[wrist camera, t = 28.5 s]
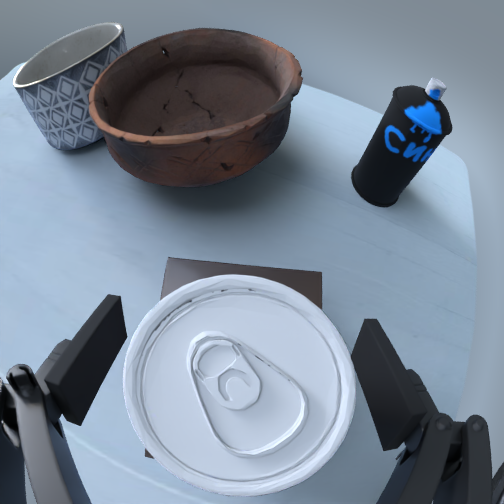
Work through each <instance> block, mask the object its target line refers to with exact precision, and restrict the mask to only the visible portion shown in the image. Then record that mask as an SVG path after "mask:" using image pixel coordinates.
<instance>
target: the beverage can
mask: <svg viewBox="0 0 504 504" xmlns="http://www.w3.org/2000/svg"><path fill="white" fill-rule="evenodd" d="M123 392H124V398H125V403H126V408H127V412H128V415H129V418H130V420H131V423H132V426H133V428H134V430H135V432H136V433H137V435H138V437H139V438H140V440H141V442H142V443H143V445H144V446H145V448H146V449H147V451H148V452H149V453H150V454H151V455H152V456H153V457H154V458H155V459H156V460H157V462H158V463H159V464H161V465H162V466H163V467H164V468H165V469H166V470H168V471H169V472H170V473H172V474H173V475H175V476H176V477H178V478H179V479H181V480H182V481H184V482H186V483H188V484H190V485H192V486H194V487H197V488H200V489H202V490H205V491H209V492H213V493H217V494H222V495H226V496H241V497H252V496H260V495H266V494H271V493H276V492H280V491H282V490H285V489H287V488H290V487H292V486H295V485H297V484H299V483H301V482H303V481H304V480H306V479H308V478H309V477H310V476H312V475H313V474H315V473H316V472H317V471H319V470H320V469H321V468H322V467H323V466H324V465H325V464H326V463H327V462H328V461H329V460H330V459H331V457H332V456H333V455H334V454H335V452H336V451H337V449H338V448H339V446H340V445H341V443H342V442H343V440H344V439H345V437H346V434H347V432H348V429H349V427H350V424H351V422H352V418H353V414H354V410H355V403H356V378H355V371H354V366H353V363H352V360H351V357H350V354H349V351H348V349H347V346H346V344H345V342H344V340H343V338H342V337H341V335H340V333H339V332H338V330H337V329H336V327H335V326H334V325H333V323H332V322H331V321H330V320H329V318H328V317H327V316H326V314H325V313H324V312H323V311H322V310H321V309H320V308H318V307H317V306H316V305H315V304H314V303H312V302H311V301H310V300H309V299H307V298H306V297H305V296H303V295H302V294H300V293H298V292H296V291H295V290H293V289H291V288H289V287H287V286H285V285H283V284H280V283H278V282H275V281H271V280H268V279H265V278H261V277H255V276H248V275H235V274H234V275H219V276H214V277H210V278H205V279H200V280H197V281H194V282H192V283H189V284H187V285H184V286H182V287H180V288H179V289H177V290H175V291H174V292H172V293H170V294H169V295H167V296H166V297H164V298H163V299H162V300H161V301H160V302H159V303H158V304H157V305H156V306H155V307H153V308H152V309H151V310H150V311H149V312H148V313H147V315H146V316H145V318H144V319H143V320H142V322H141V323H140V324H139V326H138V327H137V329H136V331H135V333H134V335H133V337H132V339H131V342H130V345H129V347H128V350H127V354H126V359H125V364H124V369H123Z"/></svg>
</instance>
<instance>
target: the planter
mask: <svg viewBox="0 0 504 504" xmlns="http://www.w3.org/2000/svg"><path fill="white" fill-rule="evenodd" d="M125 52H127V47H126V41H125V35H124V28H123V26H122V25H121V24H119V23H115V22H114V23H113V22H108V23H101V24H96V25H92V26H89V27H85V28H82V29H79V30H77V31H75V32H72V33H70V34H68V35H66V36H64V37H62V38H60V39H58V40H56V41H54V42H53V43H51V44H49V45H48V46H46V47H45V48H43V49H42V50H41V51H39V52H38V53H37V54H35V55H34V56H33V57H32V58H31V59H29V60H28V61H27V62H26V63H25V64H24V65H23V66H22V68H21V69H20V70H19V71H18V73H17V74H16V76H15V78H14V81H13V85H14V87H15V89H16V90H17V92H18V94H19V96H20V98H21V99H22V101H23V103H24V104H25V106H26V108H27V110H28V111H29V113H30V115H31V116H32V118H33V119H34V121H35V123H36V124H37V126H38V128H39V129H40V131H41V132H42V134H43V135H44V137H45V138H46V140H47V141H48V143H49V144H50V145H51V146H52V147H54V148H56V149H60V150H72V149H77V148H81V147H84V146H86V145H89V144H91V143H93V142H96V141H98V140H99V139H101V138H103V137H104V135H103V133H102V132H101V130H99V128H98V127H97V125H96V124H95V123H94V121H93V119H92V117H91V115H90V112H89V93H90V91H91V88H92V87H93V85H94V83H95V82H96V80H97V78H98V77H99V76H100V74H101V73H102V72H103V71H104V70H105V69H106V68H107V67H108V66H109V65H110V63H112V62H113V61H114V60H115V59H116V58H118V57H119V56H120V55H121V54H123V53H125Z"/></svg>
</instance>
